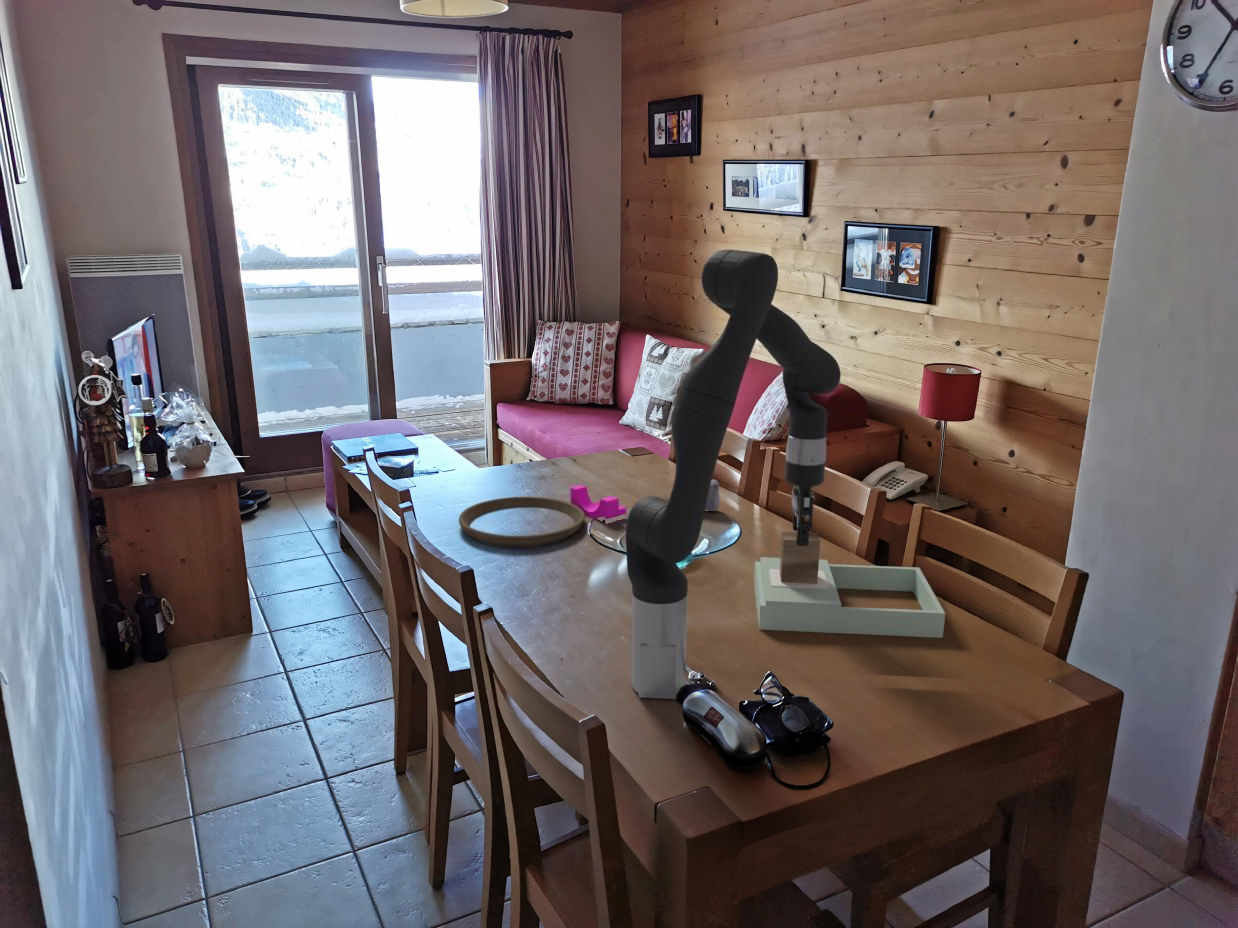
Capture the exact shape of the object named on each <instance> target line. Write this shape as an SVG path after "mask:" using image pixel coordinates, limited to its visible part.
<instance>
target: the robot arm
mask: <svg viewBox="0 0 1238 928" xmlns="http://www.w3.org/2000/svg"><path fill="white" fill-rule="evenodd" d="M778 279H779V268H778V263H777V262H776V260H775V258H774V257H773V256H772V255H769V254H767V253H764V252H755V251H748V250H739V249H722V250H721V249H719V250H717V251H715V252H713V253H712V254H710V255H709V257H708V258H707V259H706V261H705V263H704V266H703V268H702V272H701V286H702V289H703V292H704V294H705V296H706V297H707V299H708V300H709V301H710V302H711V303H713V304H714V305H715V306H716V307H718V308H719V309H721V310H722V311H723V312H725V313H726V314H728V315H729V317H728V320H727V322H726V325H725V327H724V329H723V332H721V335H720V336H719V337H718V338H717V340H716V341H715V343H714V344H712V346H711V347H710V348H709V349H708V350H707V351H706V352H705V353H704V354H703V355H702V356H701V357H700V358H699V359H698V360H697V361H696V362H695V363H694V364H693V365H692V366H691V367H690V369H689V370H688V372H687V373H686V374H685V375H684V378H683V380H682V382H681V385H680V389H679V390H678V394H677V397H676V400H675V402H674V403H675V404H674V407H673V410H672V413H671V421H670V423H671V426H670V427H671V435H672V443H673V449H674V451H673V452H674V456H675V457H674V458H675V475H674V481H673V485H672V489H671V493H670V495H669V499H668V500H667V499H664V498H661V497H658V496H653V495H650V496H648V495H647V496H646V497H645V496H644V497H642V498H640V499H639V500H637V501H636V502H635V504H634V505H633V506H632V507H631V509H630V511H629V514H628V517H627V518H626V519H627V520H626V524H625V526H626V527H625V548H626V549H625V550H626V553H625V554H626V569H627V571H626V572H627V576H628V579H629V581H630V583H631V588H632V589H631V592H632V593H631V595H632V596H631V598H632V600H631V603H632V604H631V610H632V611H631V686H632V689H633V690H634V691H635V692H636V693H638V698H642V699H643V698H645V699H662V700H663V699H664V700H665V699H666V700H676V699H677V696H678V695H677V693H678V692H679V690H680V688H681V687H683V686H684V685H685V686H686V677H687V676H686V675H687V673H686V672H687V669H686V668H687V633H688V632H687V627H688V591H689V590H688V587H689V585H688V578H687V576H686V575H685V573H684V571H682V569H680V567H679V566H678V563H681V562H683V561H685V560H686V559H687V558H688V557H689V556H690V555H691V553H692V552H693V551H694V549H695V547H696V544H697V542H698V539H699V537H700V534H701V530H702V525H703V522H704V517H705V508H706V503H707V498H708V493H709V489H710V484H711V480H712V479H713V476H714V473H715V469H716V466H717V462H718V458H719V455H720V450H721V447H722V445H723V441H724V439H725V435H726V433H727V430H728V428H729V424H730V421H731V418H732V415H733V411H734V410H735V405H736V401H737V399H738V395H739V391H740V387H741V385H742V381H743V378H744V374H745V371H746V369H747V366H748V363H749V360H750V357H751V354H752V351H753V349H754V346H755V344H756V341H758V342H759V343H760V344H761V345H762V346H763V347H764V348H765V350H766V351H767V352H768V353H769V354H770V355H771V357H772V358H773V359H774V360H775V361H776V363H777V364H778V365H779V366H781V368H782V382H783V387H784V390H785V391H784V392H785V396H786V403H787V406H788V411H789V420H788V421H789V424H788V436H787V442H786V447H785V464H784V480H785V483H787V484H789V485H793V488H792V490H791V506H792V509H791V510H792V511H793V515H792V518H793V519H792V530H793V532H797V541H796V542H797V545H798V546H807V545H808V542H809V533H810V529H811V528H813V525H814V524H813V515H814V502H815V493H814V490H813V489H812V488H813V487H818V486H822V484H824V481H825V473H826V472H825V471H826V457H827V456H826V455H827V441H826V440H827V425H828V410H827V408H825V407H824V406H822V405H820V404H818V403H816V402H814V401H813V400H812V399H811V397H810V395H809V393H812V394H818V395H826V394H830V393H832V392H834V391H835V390H836V389H837V388H838V386H839V384H840V381H841V376H842V375H841V373H842V372H841V368H840V365H839V363H838V361H837V359H836V358H835V357H834V356H833V354H831V353H830V352H828V351H827V350H826V349H825V348H823V347H821V346H820V345H819V344H817V343H815V342H813V341H811V339H810V338H809V336H808V335H807V333H806V332H805V331H804V330H803V328H802V327H801V326H800V324H798V322H797V321H796V320H795V319H794V318H792V317H791V316H790V315H789V314H787V313H786V312H785V311H783V310H781V309H780V308H778V307H777V306H776V305H774V304H772V303H773V300H774V297H775V294H776V290H777V287H778ZM806 517H807V520H806ZM676 695H677V696H676Z"/></svg>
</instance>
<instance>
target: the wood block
mask: <svg viewBox="0 0 1238 928" xmlns="http://www.w3.org/2000/svg"><path fill="white" fill-rule="evenodd" d="M796 541H797V531H781V543H780V544H781V545H780V558H781V559H780V578H781V582H783V583H808V584H817V581H818V566H819V559H820V549H821V547H820V546H821V539H820V537H819V533H818V532H809V542H808V545H807V546H798V545H797V542H796Z"/></svg>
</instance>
